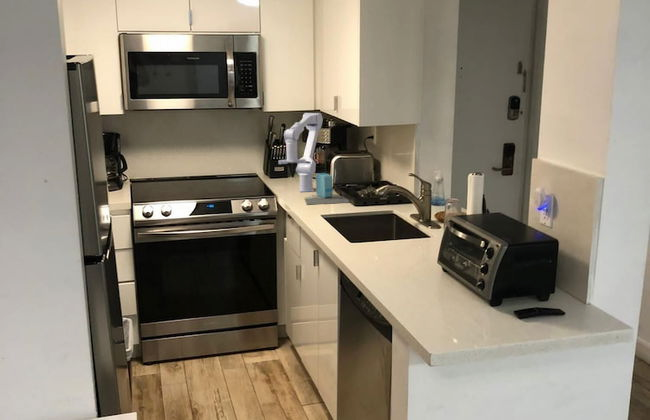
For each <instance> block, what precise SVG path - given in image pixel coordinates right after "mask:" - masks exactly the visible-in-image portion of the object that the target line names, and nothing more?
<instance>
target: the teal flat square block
mask: <svg viewBox="0 0 650 420" xmlns="http://www.w3.org/2000/svg"><path fill="white" fill-rule="evenodd" d="M315 188H316V191H315V193H316V195H317V196H318V197H319V198H330V197H334V194H333V177H332V174H329V173H326V172H317V173H316V174H315Z"/></svg>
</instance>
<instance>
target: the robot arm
mask: <svg viewBox="0 0 650 420" xmlns="http://www.w3.org/2000/svg"><path fill="white" fill-rule="evenodd" d="M323 121H324V119H323V114H322V113H321V112H304V113H303V115H302V119H301V120H300V121H299V122H294V124H293V125H292V126H291V127H290V128H286V129H285V130H284V132H283V137H284V143H285V144H286V159H279V160H278V165H287V166H288V170H289V173H290V177H291V178H295V173H296V174H298V175H297V176H299V187H298V191H299V192H300V193H306V192H315V189H314V184H313V182H314V179H313V175H314V174H315V173H316V166H317V163H316V161H315V160H314V159H313V158H314V153H315V149H316V145H317V140H318V136H319V132H320V130H321V129H322V126H323ZM305 128H306V130H308V136H307V139H306V145H305V148H304V153H303V156H302V157H301V158H298V140H299V138H300V135H301V134H302V132H304V130H305Z"/></svg>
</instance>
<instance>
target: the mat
mask: <svg viewBox="0 0 650 420" xmlns="http://www.w3.org/2000/svg"><path fill="white" fill-rule="evenodd" d="M304 201H305V203H306V205H307V206H310V205H328V204H329V205H330V204H333V205H334V204H349V203H351V202H350V200H349V199H348V198H347V199H346V198H345V197H344V196H332V197H330V198H323V197H309V198H308V197H307V198H304Z"/></svg>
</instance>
